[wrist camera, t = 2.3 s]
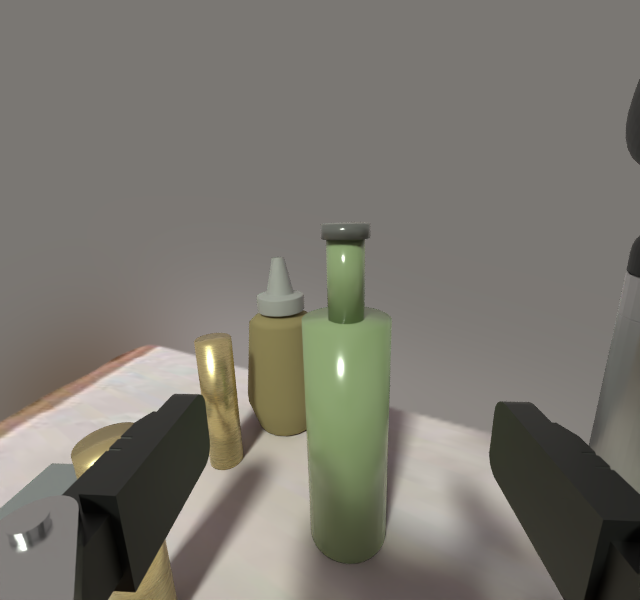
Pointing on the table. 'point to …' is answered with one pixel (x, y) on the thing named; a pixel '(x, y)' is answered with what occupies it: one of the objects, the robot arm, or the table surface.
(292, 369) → the squeeze bottle
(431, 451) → the table surface
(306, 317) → the olive bottle
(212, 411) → the brass rod
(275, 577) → the table surface
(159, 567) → the brass rod
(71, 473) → the grey coaster
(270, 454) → the table surface
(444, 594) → the table surface
